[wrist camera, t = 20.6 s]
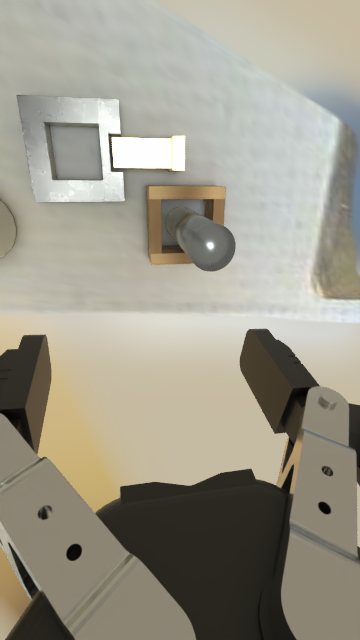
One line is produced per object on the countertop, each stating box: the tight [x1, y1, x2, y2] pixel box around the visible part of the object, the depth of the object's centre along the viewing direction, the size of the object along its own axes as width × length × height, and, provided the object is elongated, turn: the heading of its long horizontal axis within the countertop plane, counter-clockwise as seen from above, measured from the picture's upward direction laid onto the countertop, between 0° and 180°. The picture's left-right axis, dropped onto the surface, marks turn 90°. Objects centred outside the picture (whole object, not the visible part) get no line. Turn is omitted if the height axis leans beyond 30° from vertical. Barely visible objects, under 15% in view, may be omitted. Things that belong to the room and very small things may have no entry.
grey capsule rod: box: [166, 207, 235, 271], centre depth 31 cm, size 4×4×15 cm
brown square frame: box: [146, 186, 226, 265], centre depth 36 cm, size 8×8×4 cm
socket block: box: [17, 95, 125, 202], centre depth 32 cm, size 9×9×2 cm
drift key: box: [112, 136, 185, 171], centre depth 33 cm, size 7×3×4 cm, turn 89°
